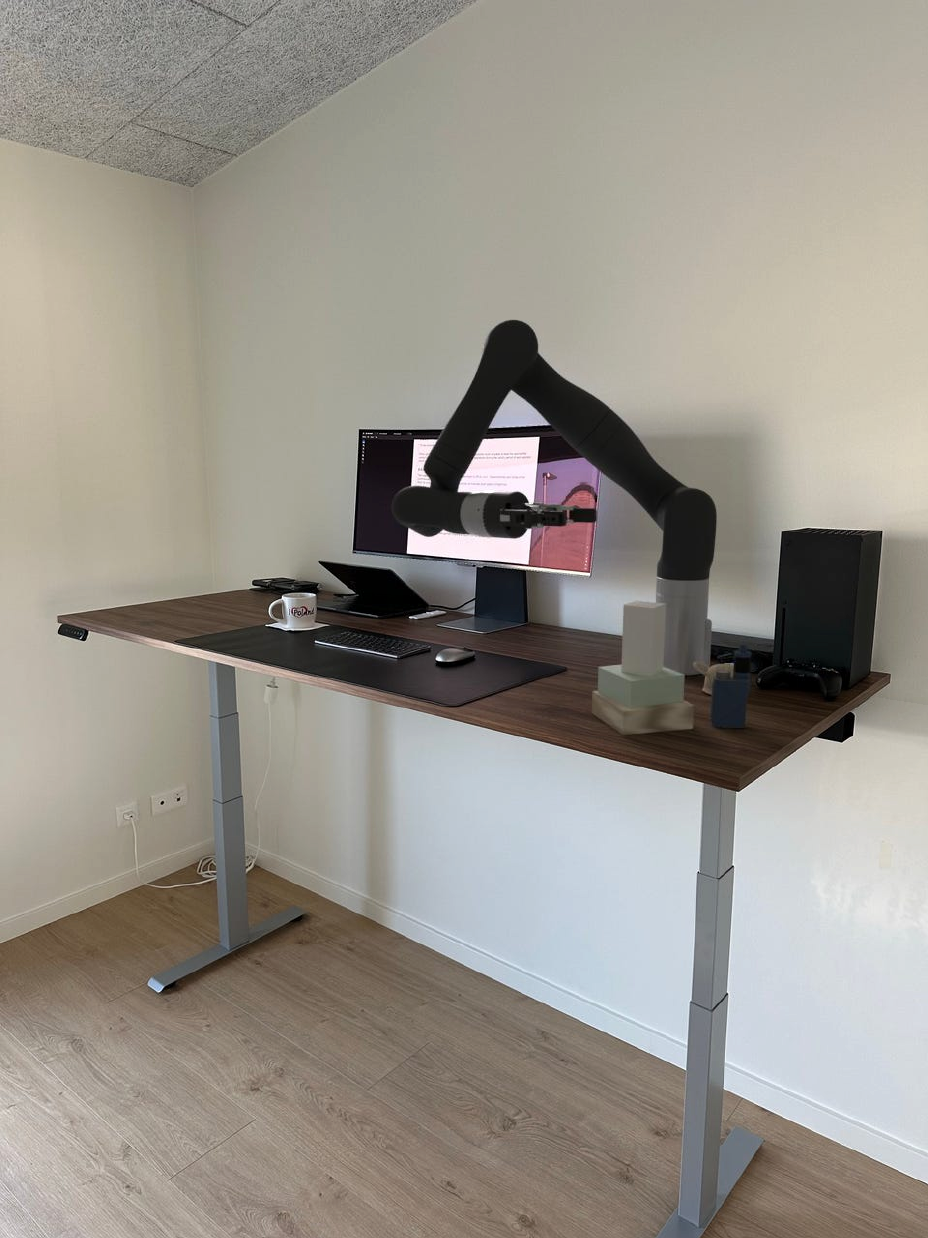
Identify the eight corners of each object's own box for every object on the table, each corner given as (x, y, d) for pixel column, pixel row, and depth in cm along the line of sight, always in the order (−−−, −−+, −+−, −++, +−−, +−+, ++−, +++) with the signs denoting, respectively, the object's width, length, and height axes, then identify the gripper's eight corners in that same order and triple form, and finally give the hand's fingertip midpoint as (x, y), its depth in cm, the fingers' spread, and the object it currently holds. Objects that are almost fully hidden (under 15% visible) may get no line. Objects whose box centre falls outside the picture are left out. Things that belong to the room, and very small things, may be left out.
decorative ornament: (744, 700, 137) (746, 667, 136) (691, 695, 140) (692, 663, 139) (745, 693, 141) (747, 662, 140) (693, 689, 144) (695, 658, 143)
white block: (634, 665, 128) (636, 600, 126) (663, 670, 126) (666, 603, 124) (621, 672, 125) (623, 605, 123) (650, 676, 122) (653, 608, 120)
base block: (657, 710, 133) (658, 686, 132) (692, 732, 122) (694, 705, 122) (591, 716, 130) (592, 691, 129) (622, 738, 120) (623, 711, 119)
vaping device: (748, 730, 122) (753, 648, 119) (710, 727, 123) (714, 646, 120) (746, 724, 124) (751, 644, 122) (709, 722, 125) (713, 642, 123)
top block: (648, 686, 132) (649, 661, 131) (683, 701, 124) (684, 674, 123) (597, 692, 129) (598, 667, 128) (630, 708, 120) (631, 681, 120)
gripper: (467, 492, 132) (555, 493, 121) (520, 489, 142) (605, 490, 132) (468, 540, 133) (554, 546, 123) (521, 534, 144) (604, 538, 134)
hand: (581, 517), depth 128 cm, fingers open, 8 cm apart
